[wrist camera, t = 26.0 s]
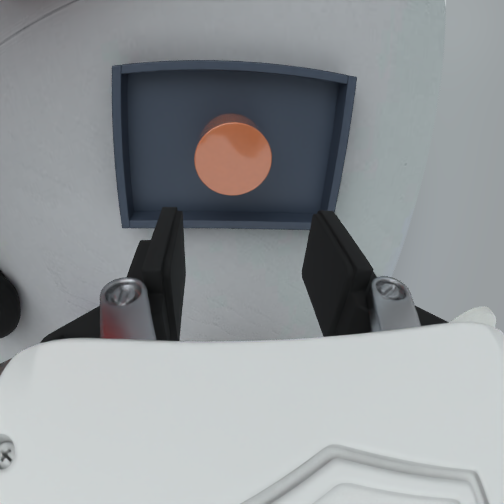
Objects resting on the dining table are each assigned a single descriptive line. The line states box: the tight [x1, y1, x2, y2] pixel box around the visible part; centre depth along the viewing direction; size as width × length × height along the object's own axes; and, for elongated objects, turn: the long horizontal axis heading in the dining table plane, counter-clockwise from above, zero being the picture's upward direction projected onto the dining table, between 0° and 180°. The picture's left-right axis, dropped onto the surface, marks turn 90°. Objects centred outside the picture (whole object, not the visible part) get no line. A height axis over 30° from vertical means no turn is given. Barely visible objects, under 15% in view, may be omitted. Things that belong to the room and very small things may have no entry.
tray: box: [112, 60, 357, 230], centre depth 25 cm, size 20×15×3 cm
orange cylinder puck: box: [194, 114, 272, 196], centre depth 24 cm, size 6×6×5 cm
